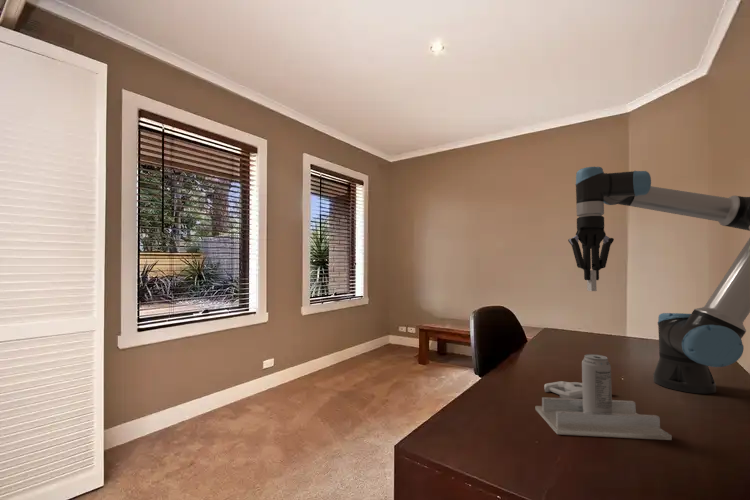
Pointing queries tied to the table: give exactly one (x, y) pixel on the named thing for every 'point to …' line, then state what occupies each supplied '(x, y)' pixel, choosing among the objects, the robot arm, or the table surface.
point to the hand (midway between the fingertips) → (591, 290)
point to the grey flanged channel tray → (600, 420)
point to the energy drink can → (596, 384)
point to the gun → (565, 389)
